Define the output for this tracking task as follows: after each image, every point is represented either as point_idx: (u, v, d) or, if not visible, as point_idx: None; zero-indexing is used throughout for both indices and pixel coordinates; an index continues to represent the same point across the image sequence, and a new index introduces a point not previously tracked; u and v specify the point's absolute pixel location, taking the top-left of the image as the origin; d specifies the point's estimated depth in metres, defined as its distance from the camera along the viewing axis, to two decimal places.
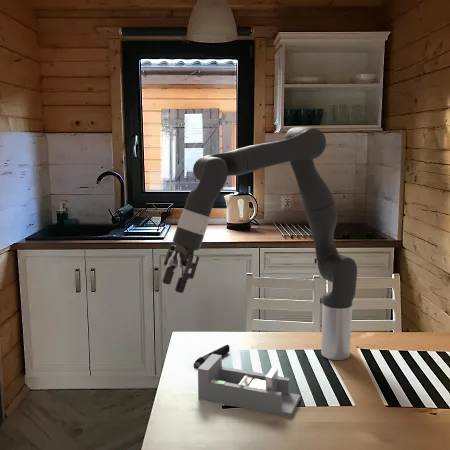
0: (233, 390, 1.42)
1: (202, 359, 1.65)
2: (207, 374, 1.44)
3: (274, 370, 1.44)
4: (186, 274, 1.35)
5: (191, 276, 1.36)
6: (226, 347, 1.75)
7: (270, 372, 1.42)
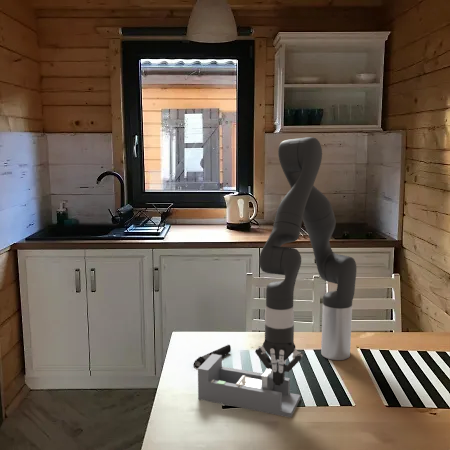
0: (233, 390, 1.42)
1: (202, 358, 1.66)
2: (207, 374, 1.44)
3: (270, 369, 1.44)
4: (289, 368, 1.39)
5: None
6: (227, 347, 1.75)
7: (266, 371, 1.43)
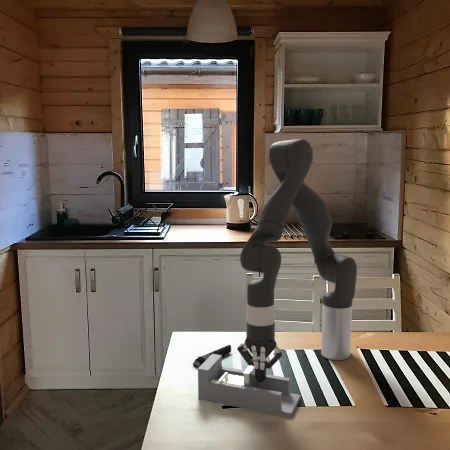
0: (233, 390, 1.42)
1: (201, 358, 1.66)
2: (207, 374, 1.44)
3: (252, 366, 1.46)
4: (270, 365, 1.41)
5: None
6: (228, 347, 1.75)
7: (248, 368, 1.45)
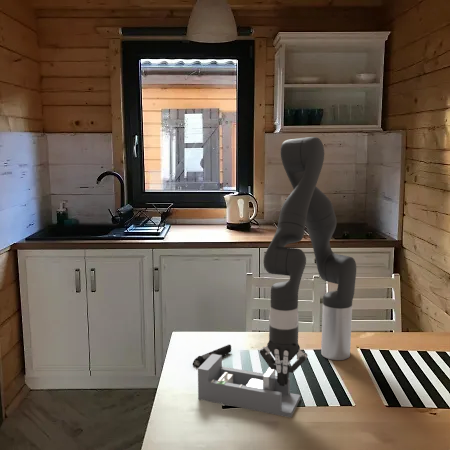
0: (233, 390, 1.42)
1: (201, 358, 1.66)
2: (207, 374, 1.44)
3: (271, 370, 1.44)
4: (293, 369, 1.39)
5: None
6: (228, 347, 1.75)
7: (267, 372, 1.43)
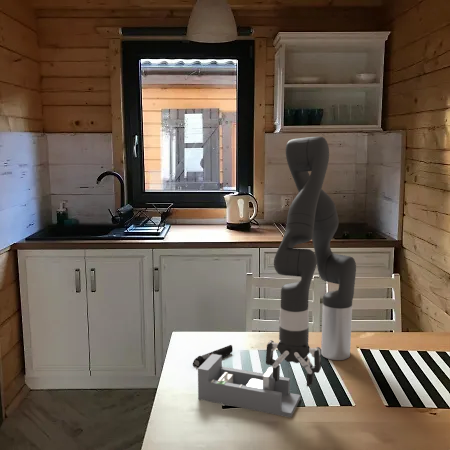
0: (233, 390, 1.42)
1: (201, 358, 1.66)
2: (207, 374, 1.44)
3: (271, 370, 1.44)
4: (319, 369, 1.36)
5: (320, 367, 1.38)
6: (229, 347, 1.74)
7: (267, 372, 1.43)
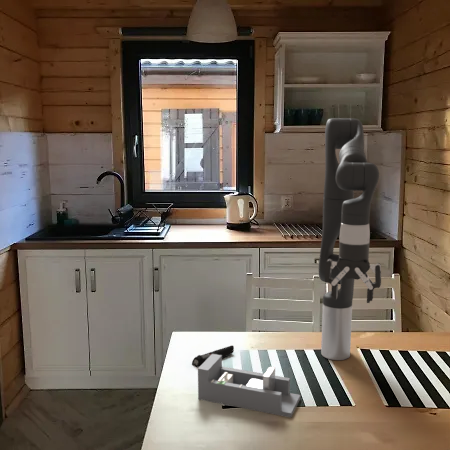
0: (233, 390, 1.42)
1: (200, 357, 1.67)
2: (207, 374, 1.44)
3: (271, 370, 1.44)
4: (380, 284, 1.37)
5: (380, 283, 1.38)
6: (230, 348, 1.74)
7: (267, 372, 1.43)
